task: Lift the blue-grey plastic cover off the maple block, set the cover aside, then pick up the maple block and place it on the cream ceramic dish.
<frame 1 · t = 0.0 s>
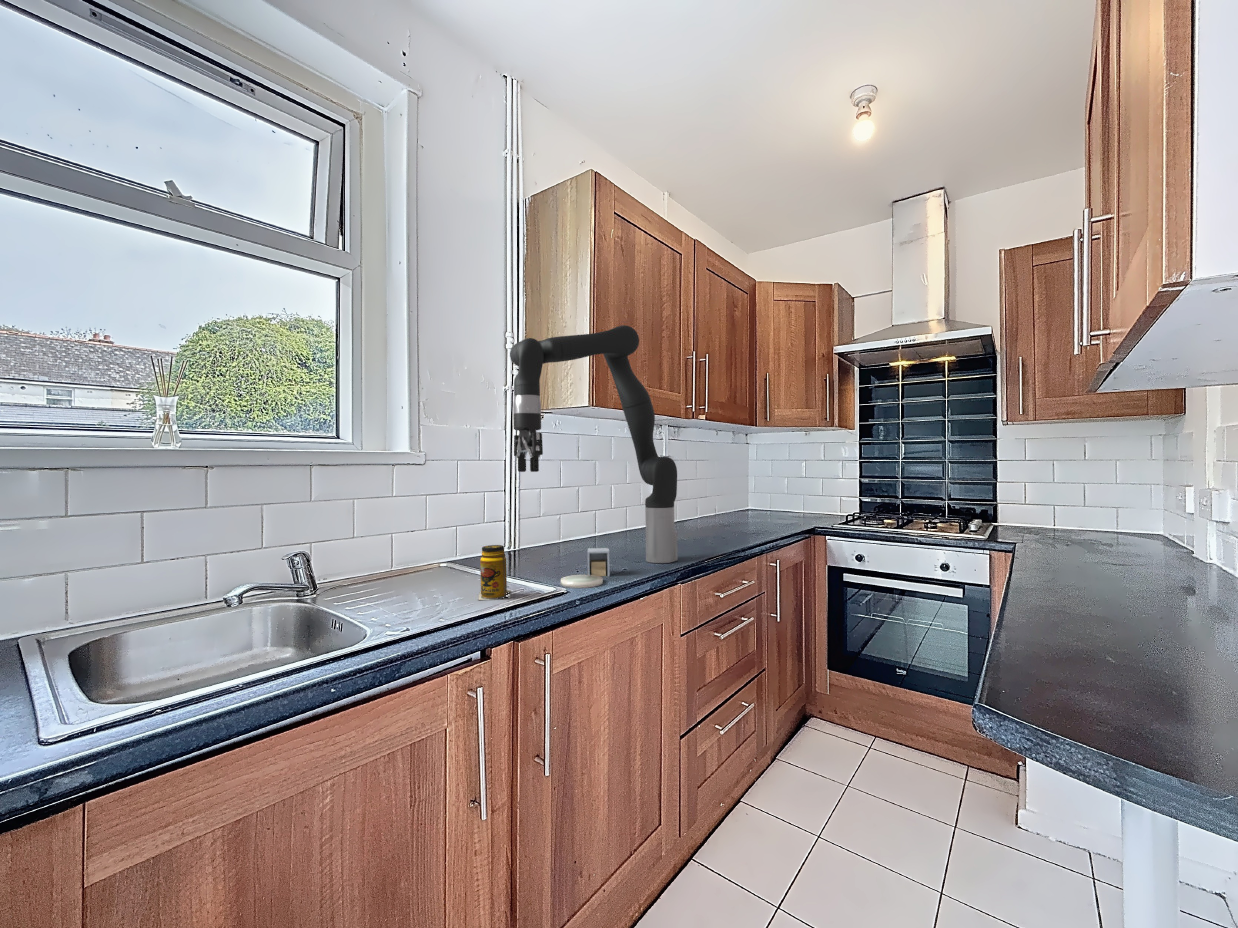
hand: (528, 471, 153), 29 cm above the worktop, tool pointing down, fingers open, 8 cm apart
block: (598, 567, 157), in the cover
dish: (581, 583, 146), on the worktop
cover: (598, 574, 157), on the worktop
condiment: (494, 596, 133), on the worktop
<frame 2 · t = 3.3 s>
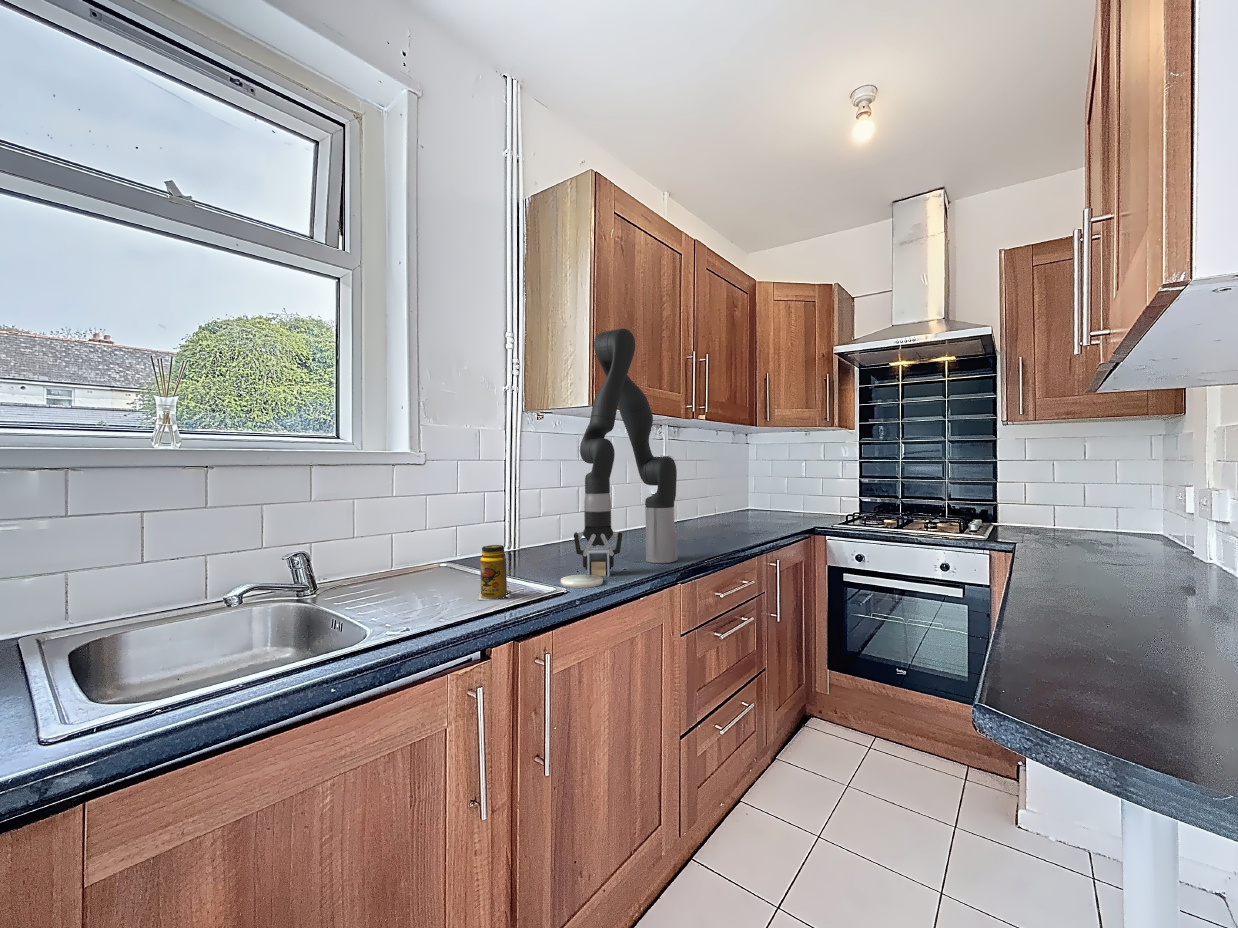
hand: (598, 568, 157), 2 cm above the worktop, tool pointing down, fingers closed on cover, 6 cm apart
cover: (598, 574, 157), on the worktop, touching gripper
everything else where it was.
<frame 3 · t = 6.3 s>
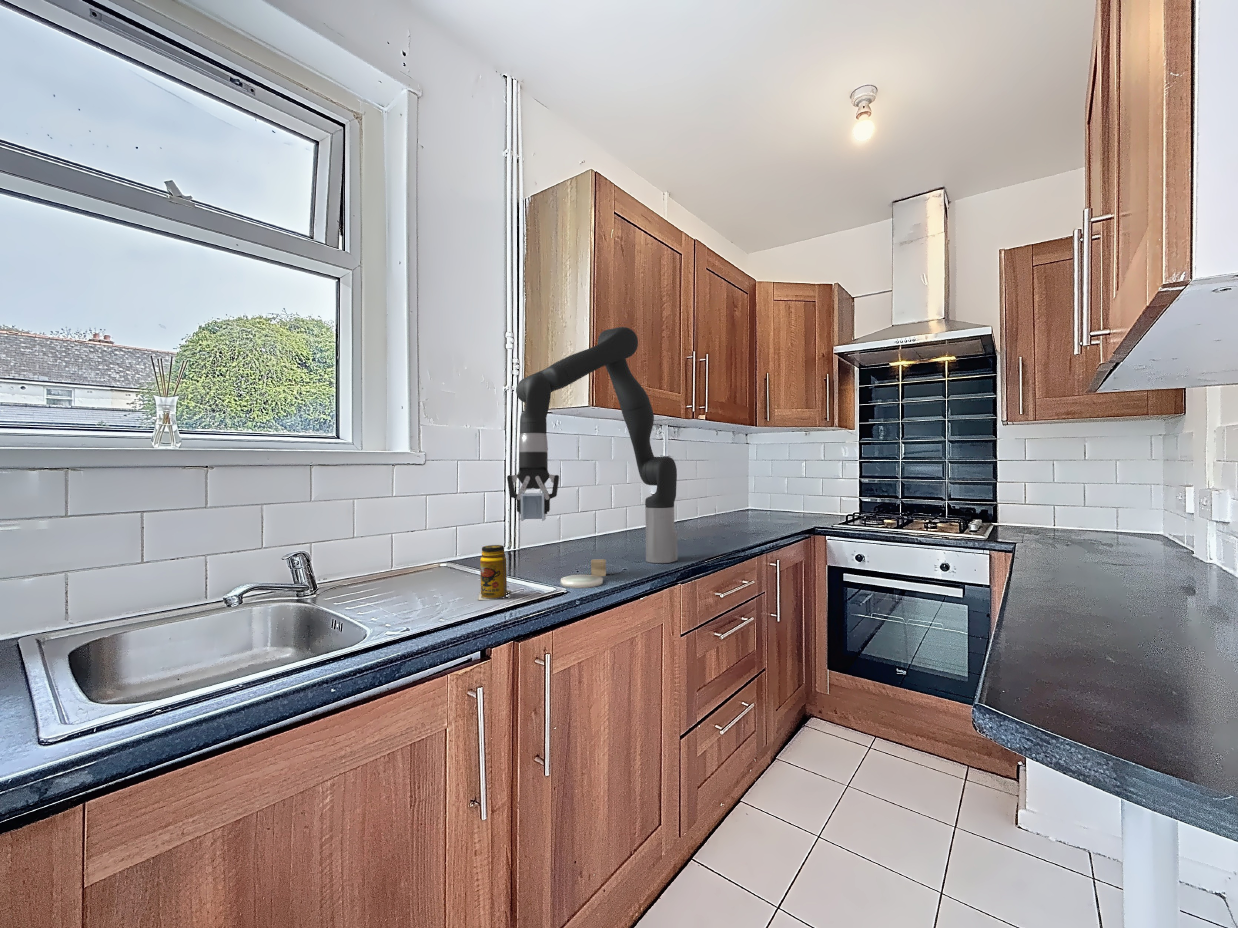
hand: (533, 513, 148), 18 cm above the worktop, tool pointing down, fingers closed on cover, 6 cm apart
cover: (533, 519, 148), point 17 cm above the worktop, touching gripper
everything else where it was.
when the fingers open (3 cm above the worktop, at t = 9.7 s): cover drops 1 cm, on the worktop.
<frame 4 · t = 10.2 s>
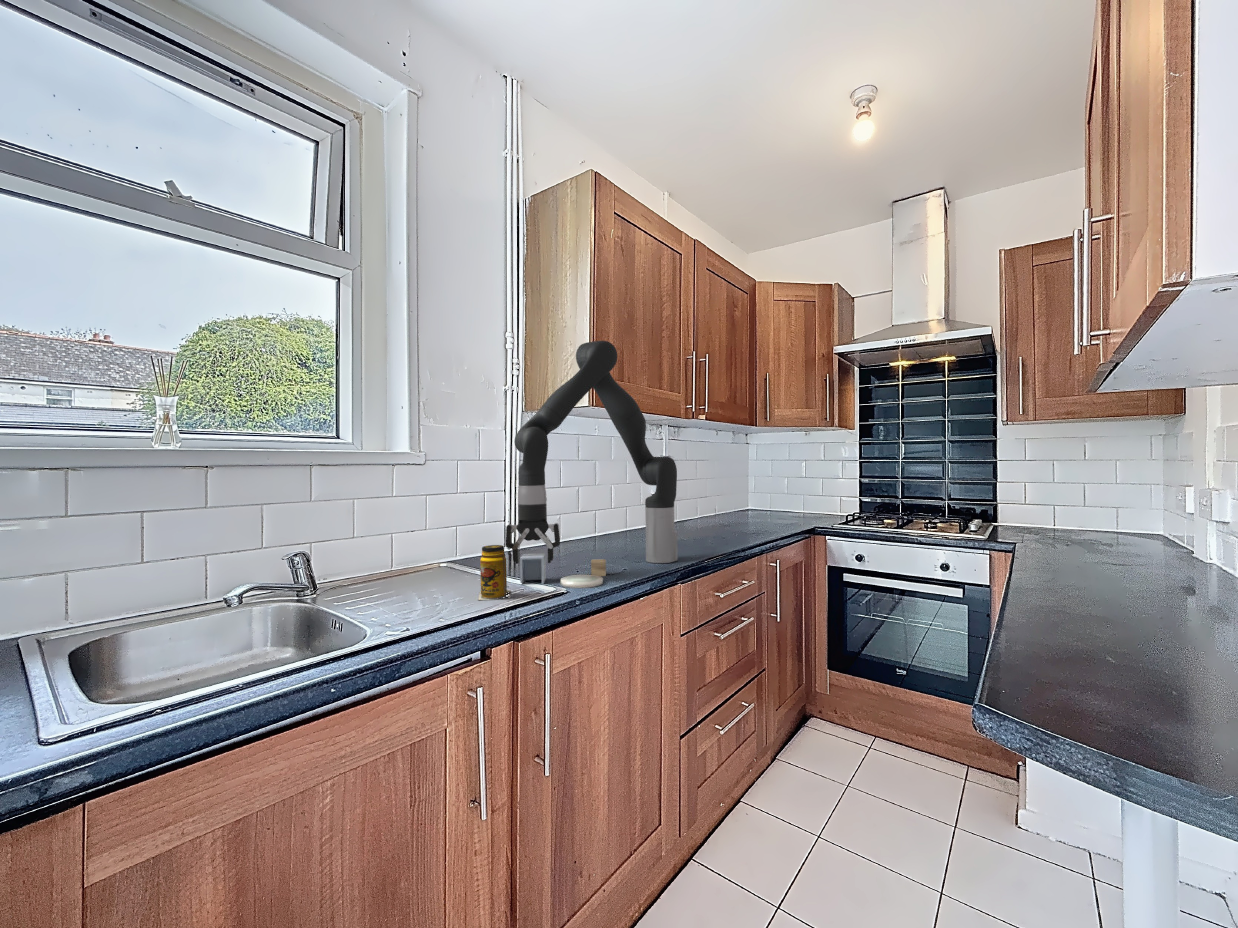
hand: (533, 562, 149), 5 cm above the worktop, tool pointing down, fingers open, 8 cm apart
cover: (533, 581, 148), on the worktop
everything else where it was.
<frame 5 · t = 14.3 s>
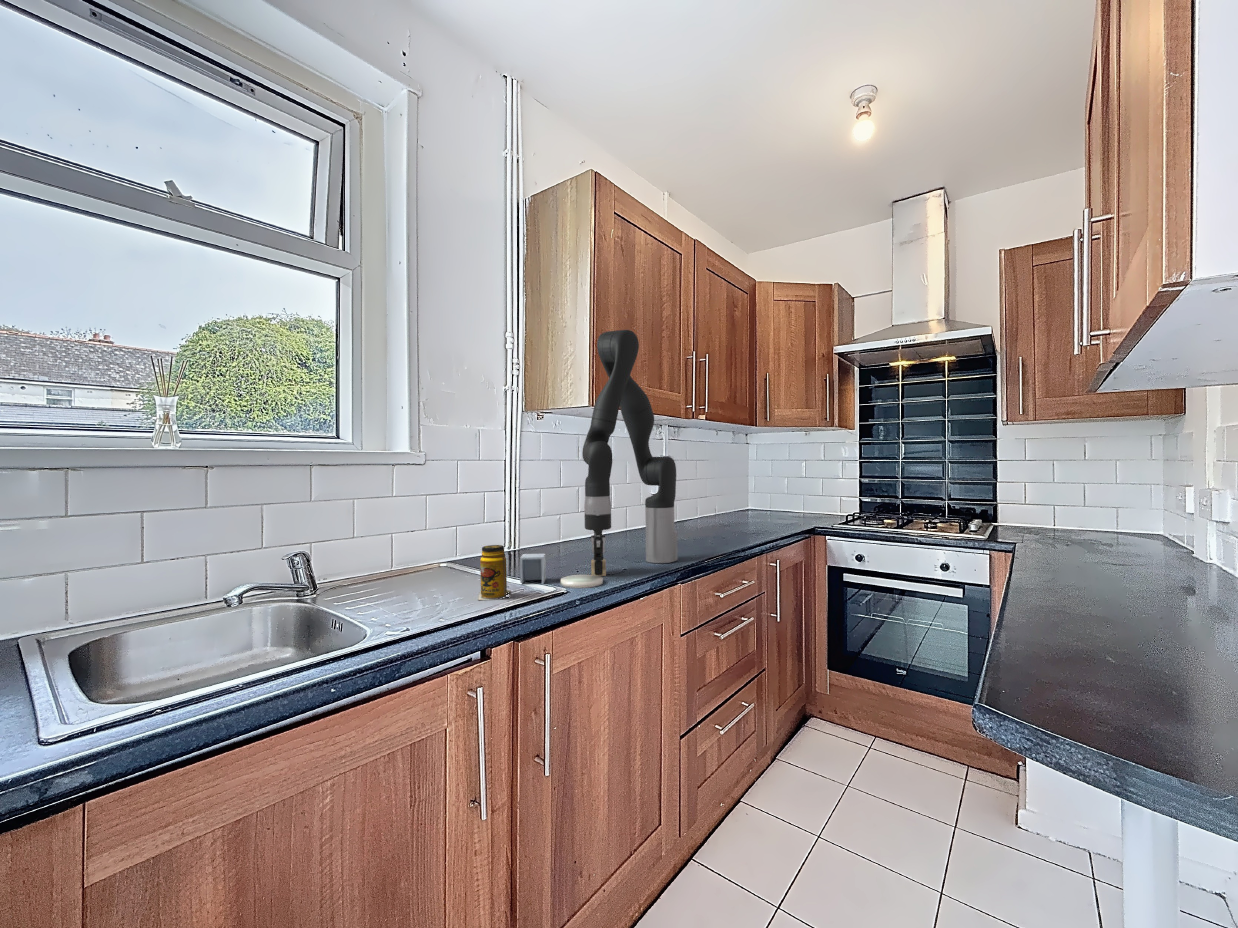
hand: (598, 572, 157), 0 cm above the worktop, tool pointing down, fingers closed on block, 4 cm apart
block: (598, 567, 157), on the worktop, touching gripper
everything else where it was.
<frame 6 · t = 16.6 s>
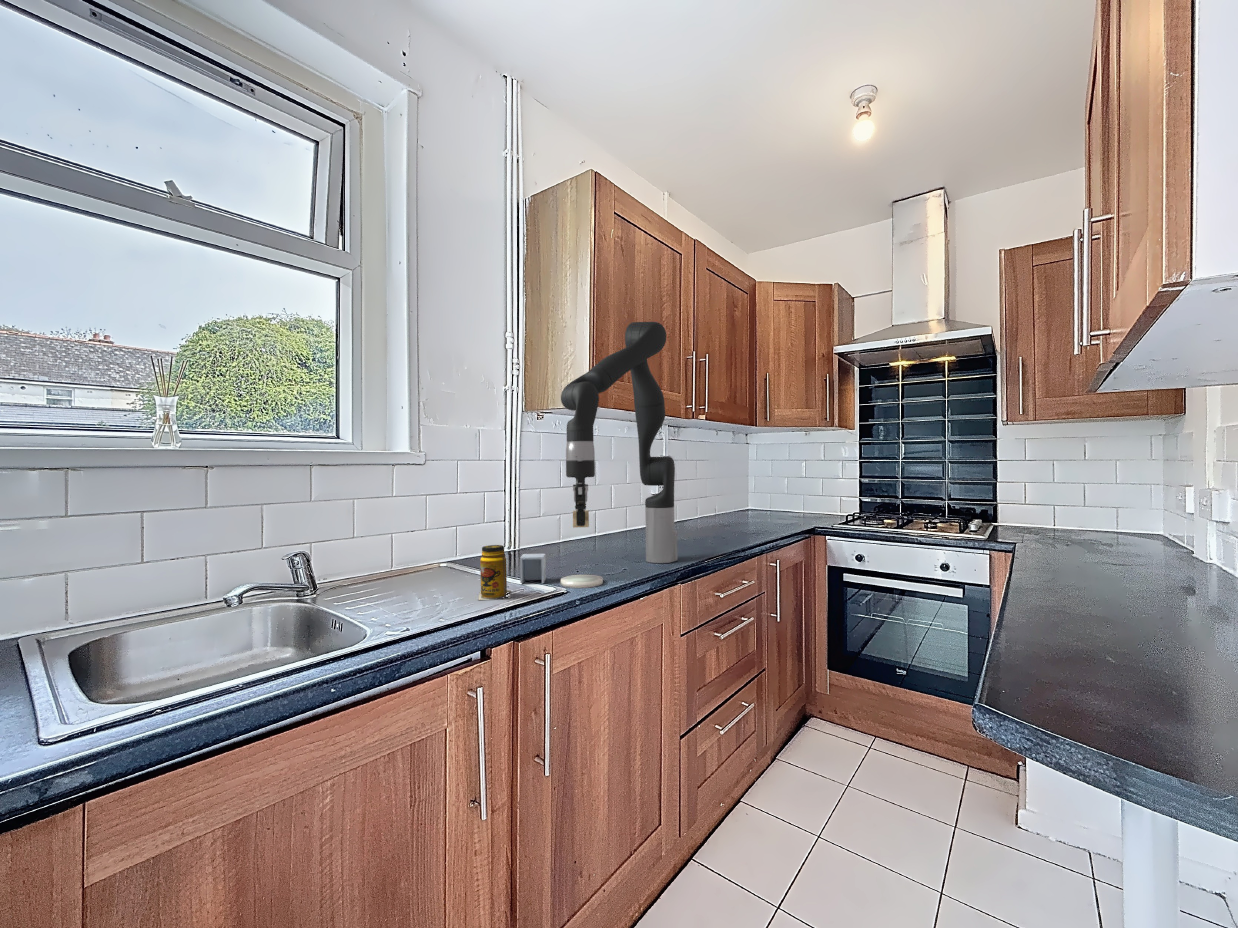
hand: (581, 524, 146), 15 cm above the worktop, tool pointing down, fingers closed on block, 4 cm apart
block: (580, 518, 146), point 17 cm above the worktop, touching gripper
everything else where it was.
when the fingers open (3 cm above the worktop, at t = 19.2 s): block drops 1 cm, resting on dish.
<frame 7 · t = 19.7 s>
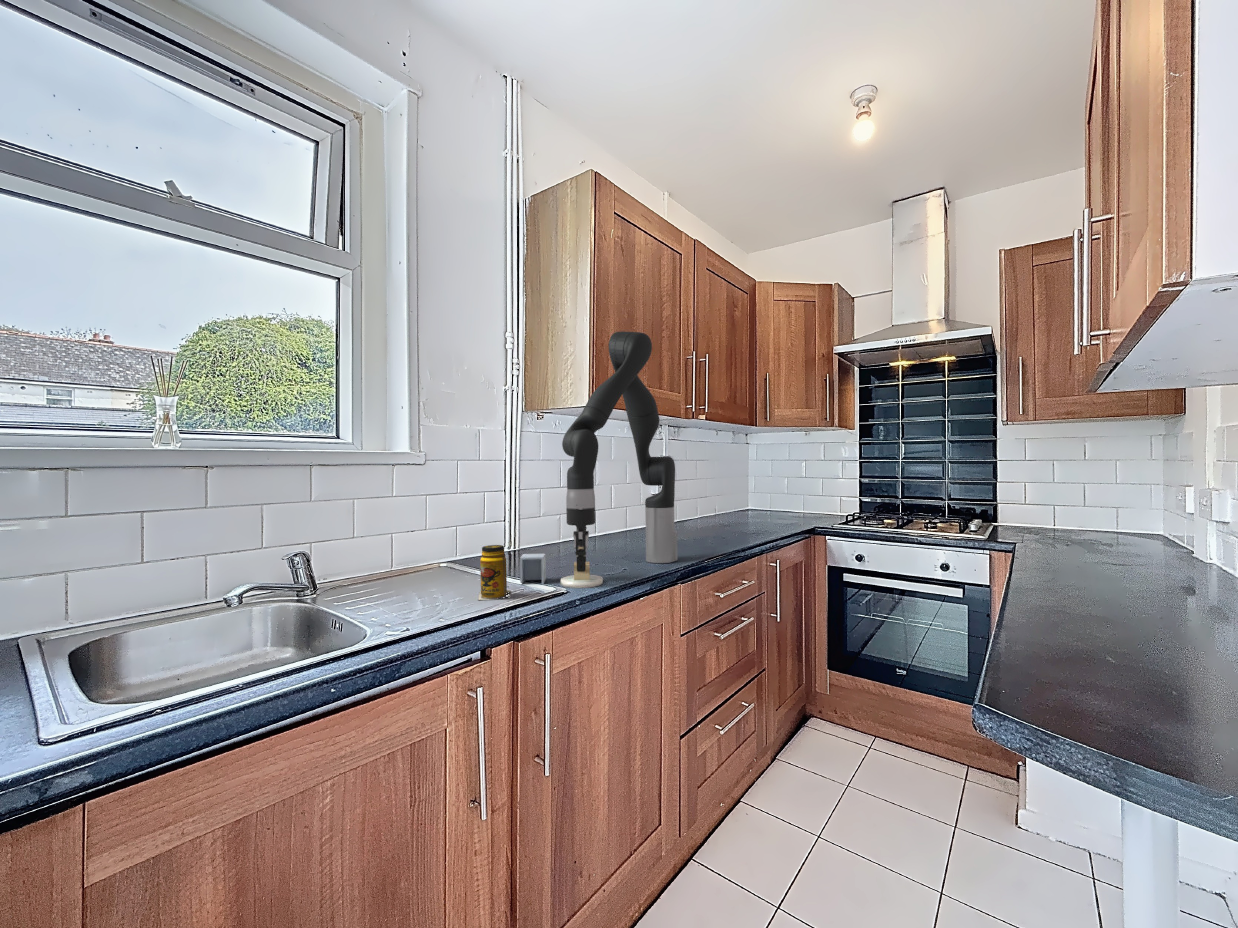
hand: (581, 568, 146), 4 cm above the worktop, tool pointing down, fingers open, 8 cm apart
block: (581, 570, 146), on the dish, point 3 cm above the worktop
everything else where it was.
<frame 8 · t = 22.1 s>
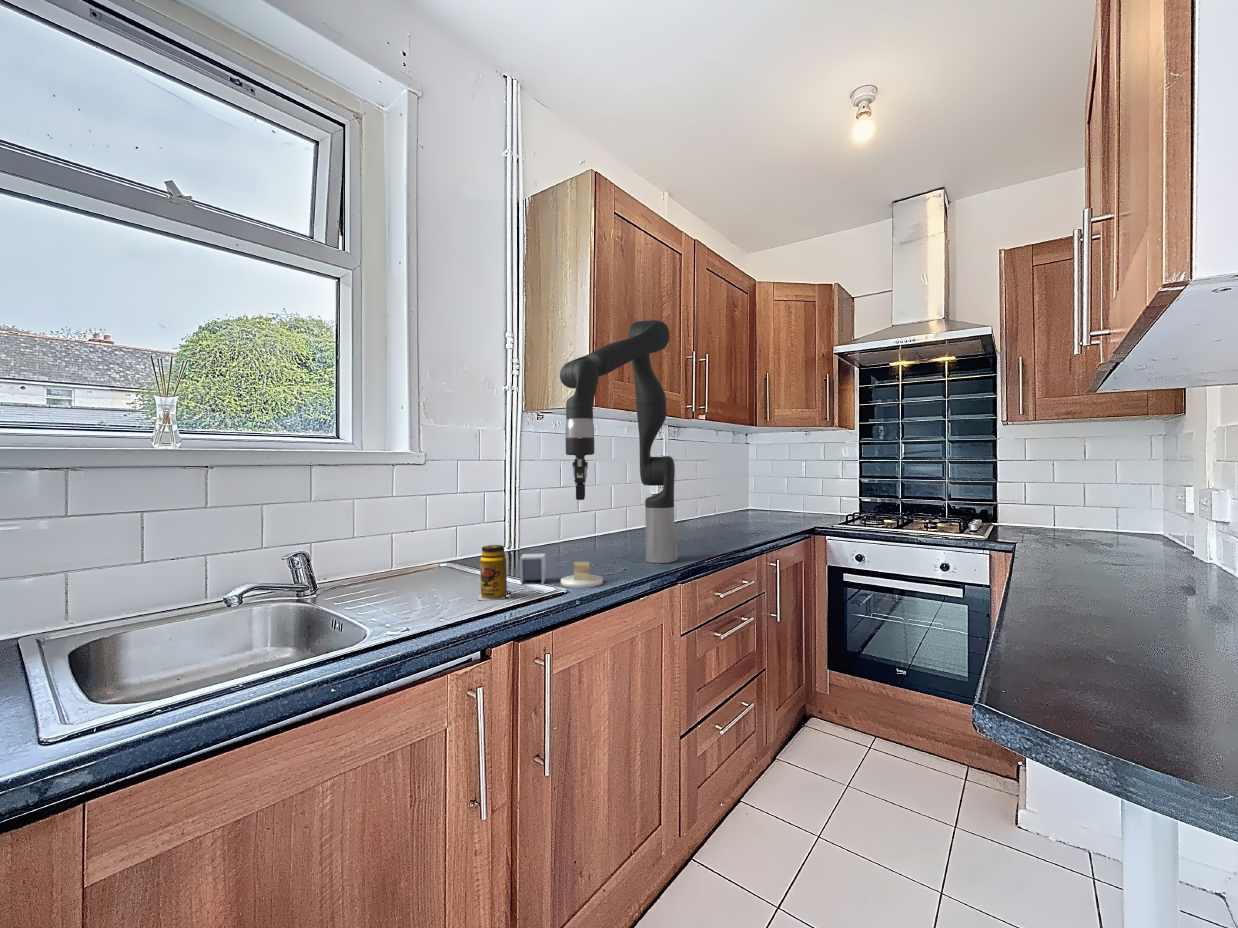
hand: (580, 498, 146), 22 cm above the worktop, tool pointing down, fingers open, 8 cm apart
nothing on the worktop moved.
at the end: block inside the target area on the dish (0.1 cm from its centre), point 3.2 cm above the dish's base; cover moved 19.1 cm from its start; the gripper is holding nothing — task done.
